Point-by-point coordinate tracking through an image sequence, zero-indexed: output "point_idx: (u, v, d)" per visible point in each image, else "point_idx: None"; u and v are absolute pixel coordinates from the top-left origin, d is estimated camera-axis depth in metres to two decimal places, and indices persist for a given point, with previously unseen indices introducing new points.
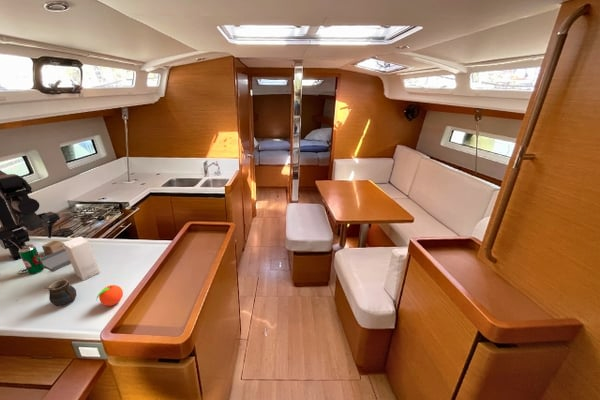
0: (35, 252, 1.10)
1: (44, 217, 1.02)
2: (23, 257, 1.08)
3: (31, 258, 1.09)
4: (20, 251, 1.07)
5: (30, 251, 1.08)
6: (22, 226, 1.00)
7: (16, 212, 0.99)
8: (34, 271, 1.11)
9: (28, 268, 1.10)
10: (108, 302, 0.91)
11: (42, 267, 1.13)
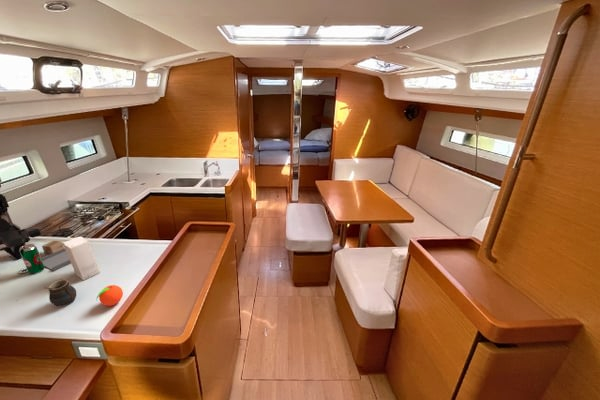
0: (36, 252, 1.10)
1: (23, 233, 1.02)
2: (24, 256, 1.08)
3: (32, 257, 1.09)
4: (21, 250, 1.07)
5: (30, 250, 1.08)
6: (1, 243, 1.00)
7: None
8: (34, 270, 1.11)
9: (28, 268, 1.10)
10: (108, 302, 0.91)
11: (42, 267, 1.13)
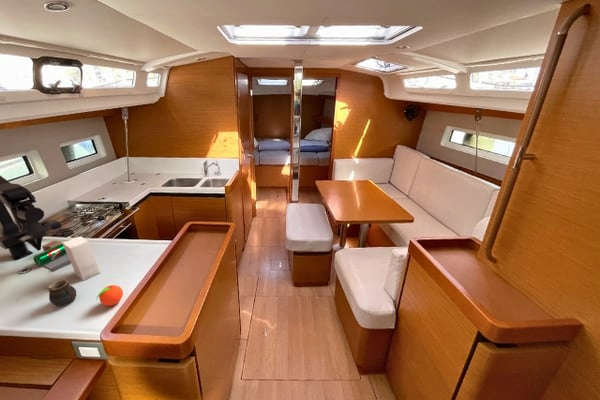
0: (62, 249, 1.22)
1: (46, 225, 1.08)
2: (55, 246, 1.22)
3: (55, 248, 1.20)
4: None
5: None
6: (26, 234, 1.06)
7: (20, 221, 1.04)
8: (39, 254, 1.15)
9: (41, 253, 1.17)
10: (108, 302, 0.91)
11: (43, 258, 1.15)
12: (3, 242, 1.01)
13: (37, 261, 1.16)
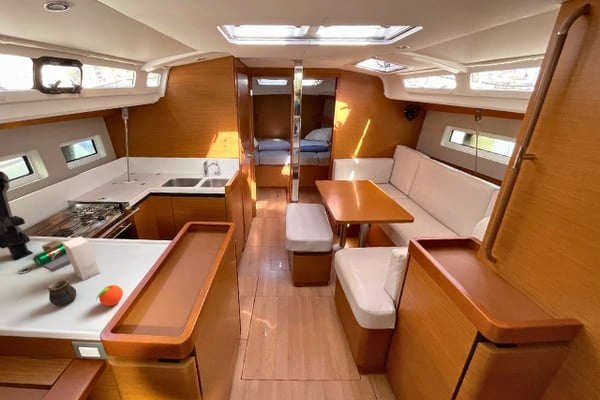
0: (62, 249, 1.22)
1: (6, 221, 1.03)
2: (55, 246, 1.22)
3: (55, 248, 1.20)
4: None
5: None
6: None
7: None
8: (39, 254, 1.15)
9: (41, 253, 1.17)
10: (108, 302, 0.91)
11: (43, 258, 1.15)
12: None
13: (37, 261, 1.16)
